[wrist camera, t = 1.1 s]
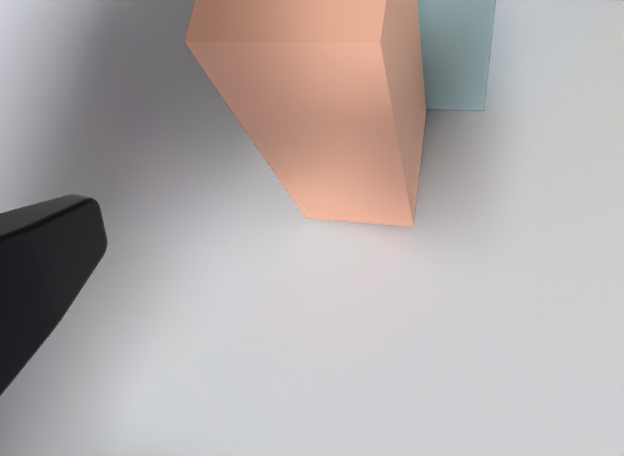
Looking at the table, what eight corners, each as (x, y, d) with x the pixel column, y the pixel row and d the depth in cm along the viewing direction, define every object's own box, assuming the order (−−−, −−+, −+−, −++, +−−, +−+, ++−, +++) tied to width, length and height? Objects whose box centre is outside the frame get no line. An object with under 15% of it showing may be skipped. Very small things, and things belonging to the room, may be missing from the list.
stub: (413, 227, 23) (378, 33, 12) (305, 218, 24) (178, 33, 13) (426, 113, 25) (405, -158, 13) (324, 110, 26) (223, -142, 14)
